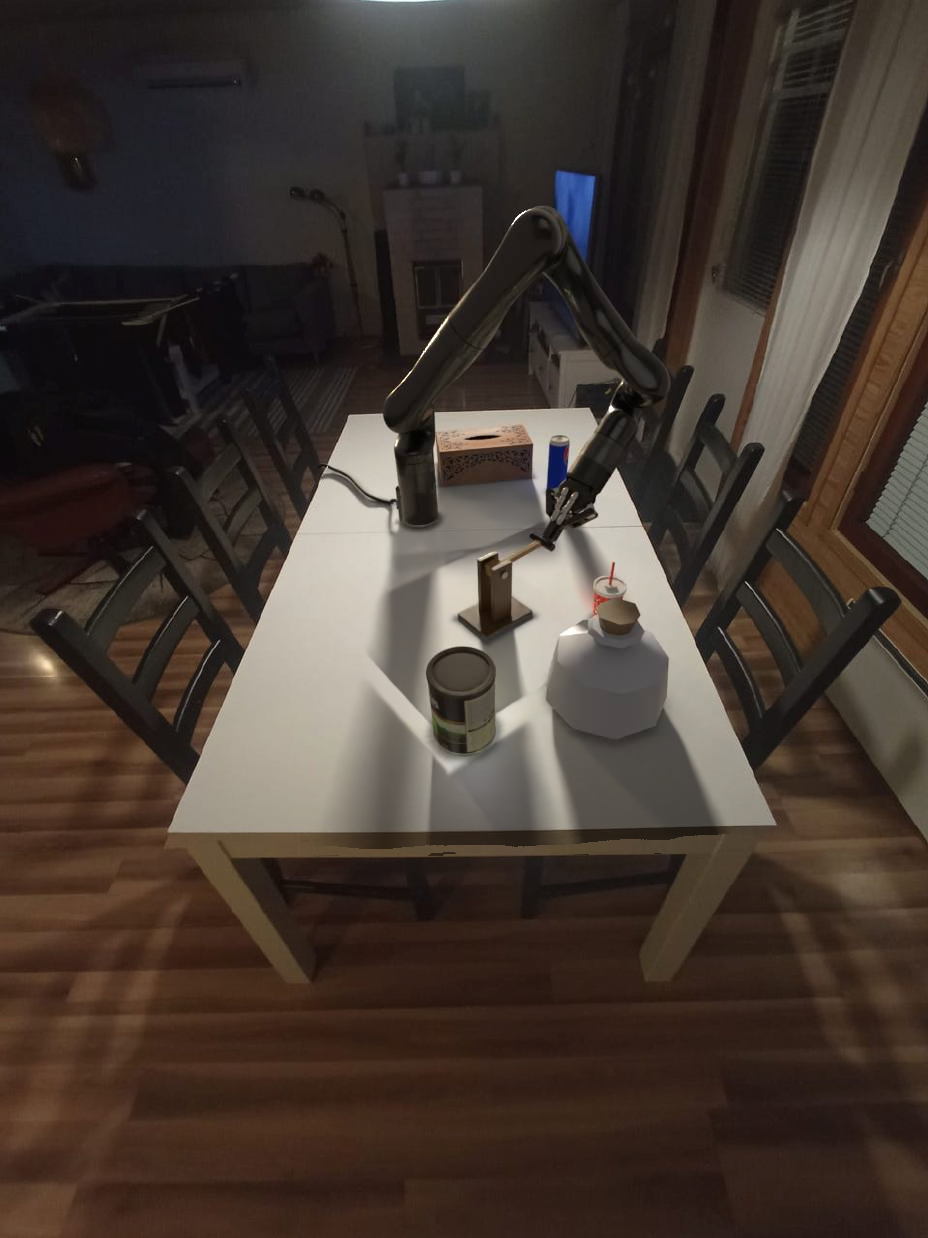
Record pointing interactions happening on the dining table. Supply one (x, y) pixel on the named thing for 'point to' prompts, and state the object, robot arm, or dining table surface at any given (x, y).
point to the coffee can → (462, 700)
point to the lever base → (494, 599)
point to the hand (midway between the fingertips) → (546, 541)
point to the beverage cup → (607, 589)
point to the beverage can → (557, 460)
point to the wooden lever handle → (522, 551)
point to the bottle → (609, 673)
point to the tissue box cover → (484, 454)
